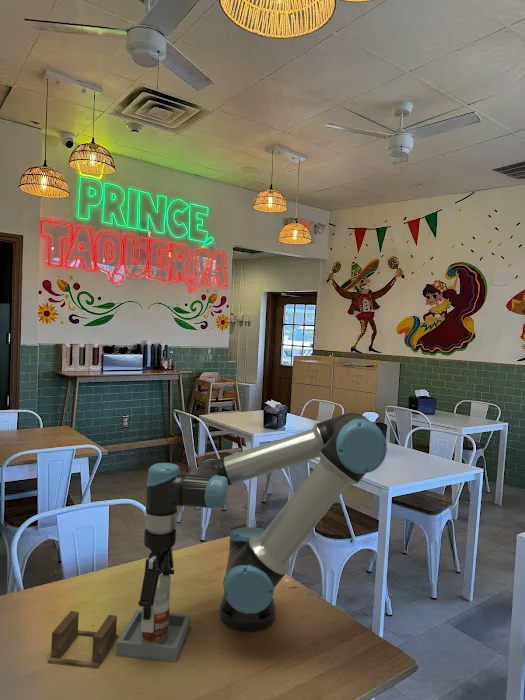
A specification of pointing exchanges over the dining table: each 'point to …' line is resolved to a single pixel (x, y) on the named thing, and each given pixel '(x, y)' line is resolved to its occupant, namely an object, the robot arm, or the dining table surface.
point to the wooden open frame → (69, 632)
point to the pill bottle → (159, 619)
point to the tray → (165, 651)
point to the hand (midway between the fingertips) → (156, 615)
